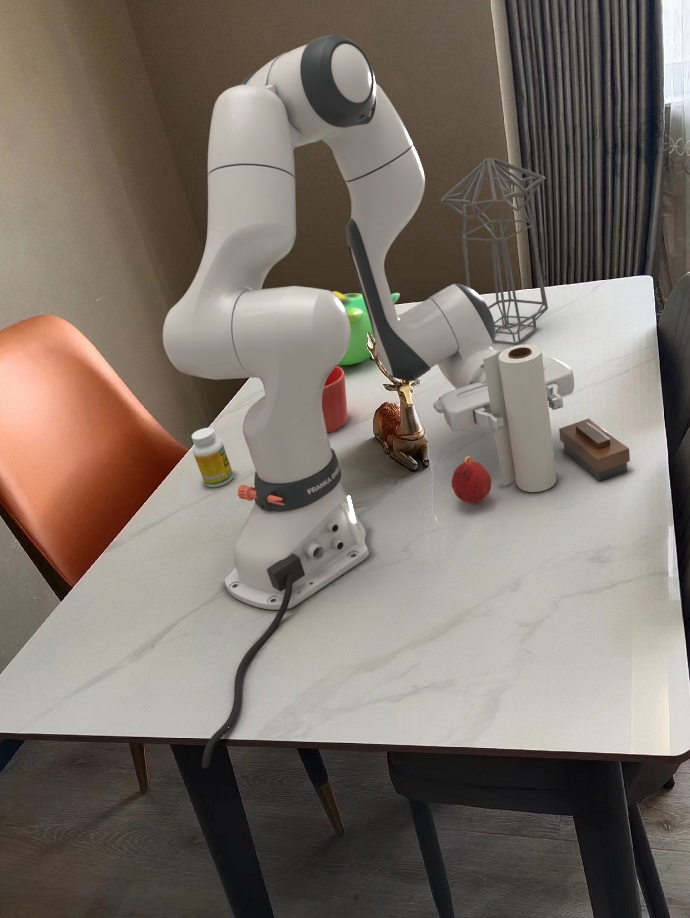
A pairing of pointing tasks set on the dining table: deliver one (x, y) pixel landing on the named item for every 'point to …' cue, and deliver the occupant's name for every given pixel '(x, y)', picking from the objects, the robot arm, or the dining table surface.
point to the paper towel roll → (521, 417)
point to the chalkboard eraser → (595, 449)
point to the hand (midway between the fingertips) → (528, 414)
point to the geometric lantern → (477, 182)
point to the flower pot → (334, 400)
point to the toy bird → (357, 327)
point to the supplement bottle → (211, 458)
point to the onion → (471, 481)
